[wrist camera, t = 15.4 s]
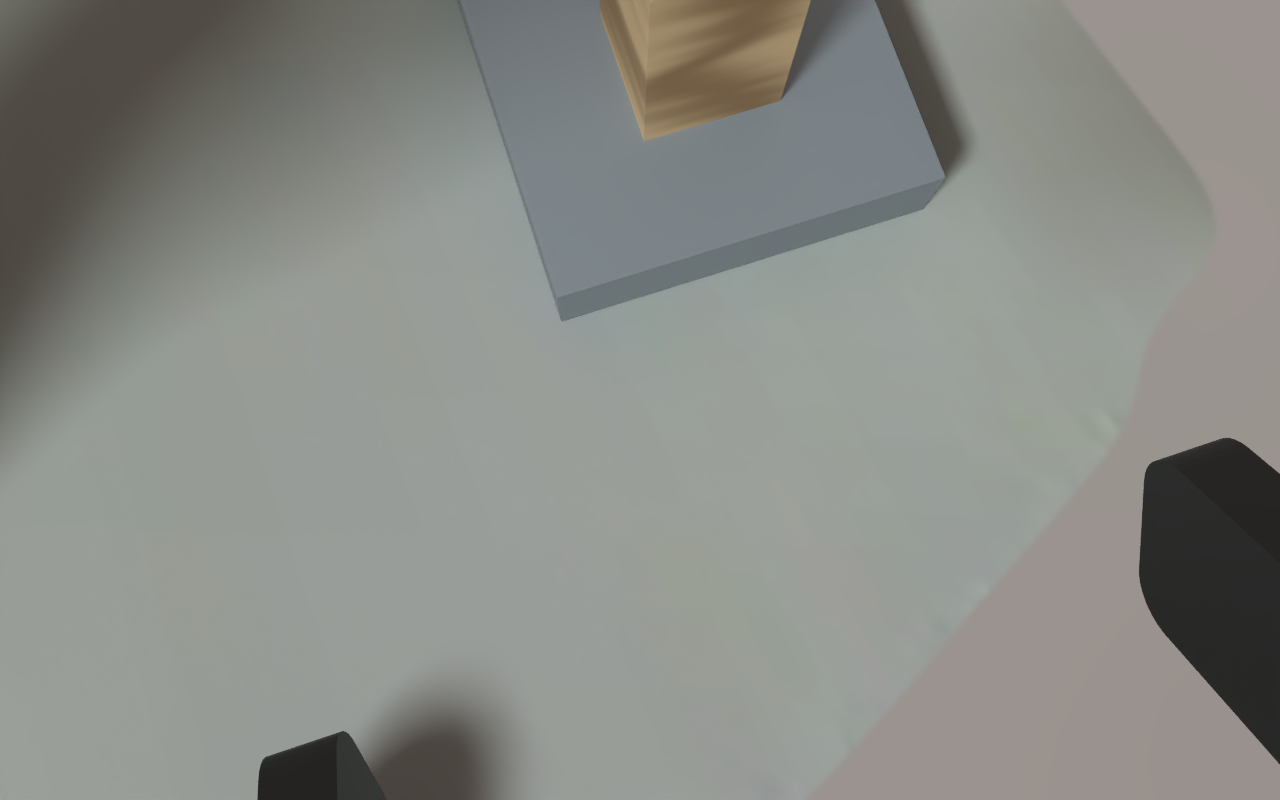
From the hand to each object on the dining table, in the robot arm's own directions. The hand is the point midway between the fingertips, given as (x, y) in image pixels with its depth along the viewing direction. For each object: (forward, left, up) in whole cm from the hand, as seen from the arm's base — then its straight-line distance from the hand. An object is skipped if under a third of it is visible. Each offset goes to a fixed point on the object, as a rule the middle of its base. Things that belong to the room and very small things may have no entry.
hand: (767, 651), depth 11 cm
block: (+7, +19, -26) cm, 32 cm away
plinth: (+7, +19, -29) cm, 35 cm away
